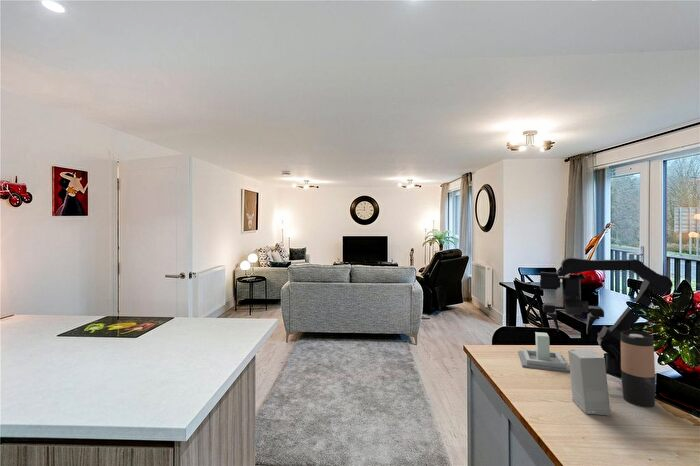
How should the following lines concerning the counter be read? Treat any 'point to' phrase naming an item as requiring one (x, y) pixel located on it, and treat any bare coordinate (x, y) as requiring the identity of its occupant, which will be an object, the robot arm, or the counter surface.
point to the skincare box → (589, 381)
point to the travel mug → (638, 368)
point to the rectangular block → (542, 346)
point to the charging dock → (554, 364)
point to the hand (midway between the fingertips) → (572, 332)
